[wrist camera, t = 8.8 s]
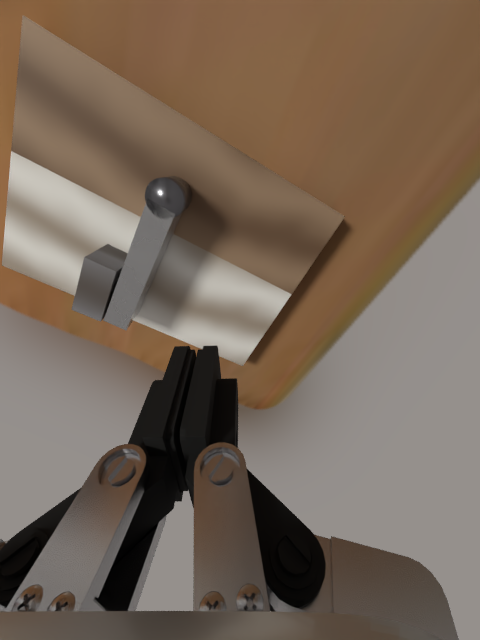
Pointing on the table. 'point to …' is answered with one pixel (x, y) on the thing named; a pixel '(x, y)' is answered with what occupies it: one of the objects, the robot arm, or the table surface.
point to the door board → (129, 201)
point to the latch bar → (148, 247)
